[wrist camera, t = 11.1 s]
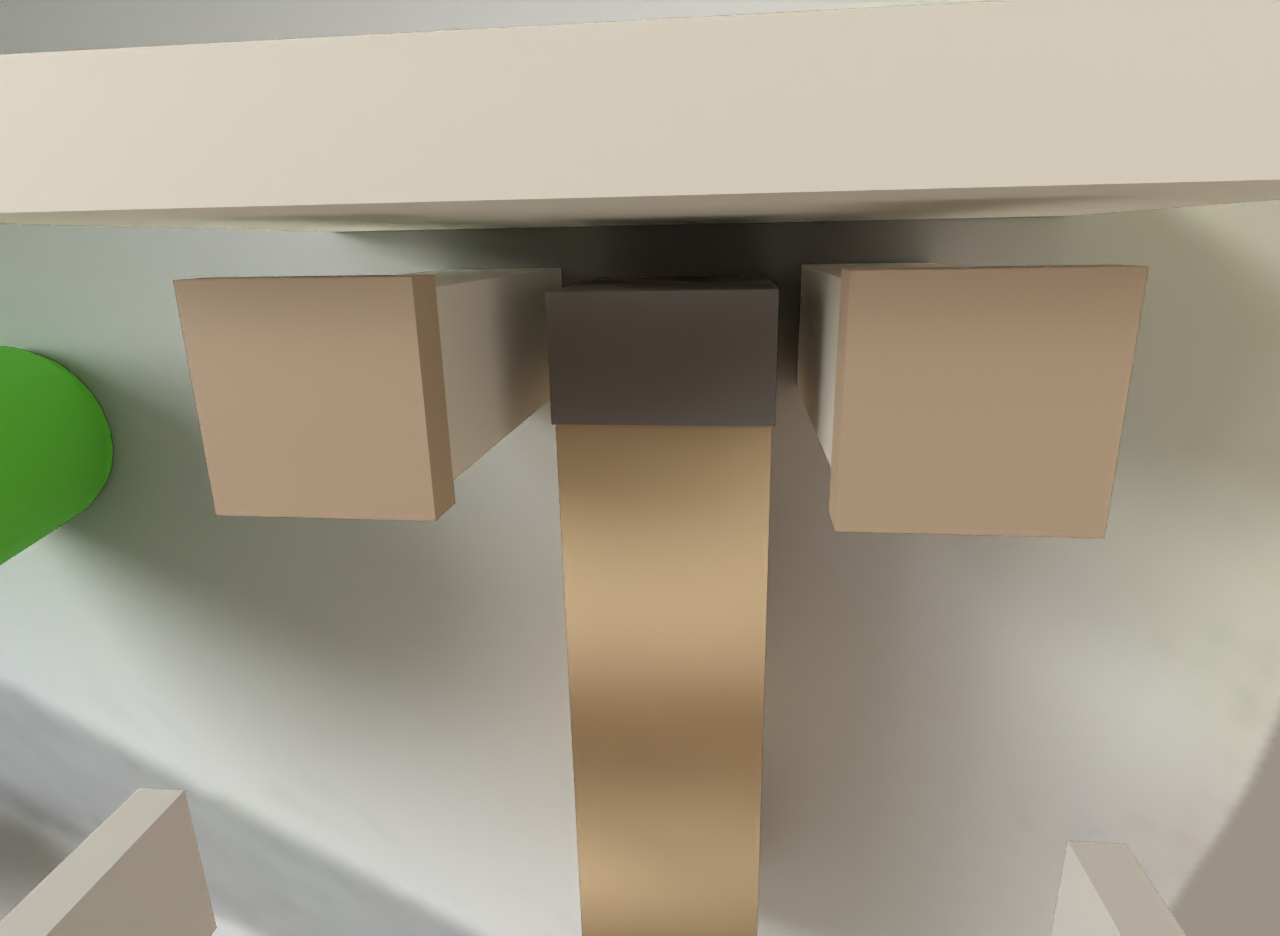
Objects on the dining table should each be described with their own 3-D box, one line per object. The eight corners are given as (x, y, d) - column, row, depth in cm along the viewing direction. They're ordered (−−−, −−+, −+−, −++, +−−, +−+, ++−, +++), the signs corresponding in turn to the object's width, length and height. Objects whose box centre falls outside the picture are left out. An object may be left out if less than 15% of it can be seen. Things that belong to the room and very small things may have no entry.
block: (602, 277, 19) (544, 292, 14) (766, 274, 19) (778, 289, 13) (621, 858, 25) (584, 1050, 19) (751, 868, 24) (755, 1068, 18)
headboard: (352, 391, 21) (-103, 568, 10) (324, 169, 20) (-260, 68, 8) (1044, 395, 19) (1511, 629, 8) (1077, 145, 17) (1734, -40, 6)
